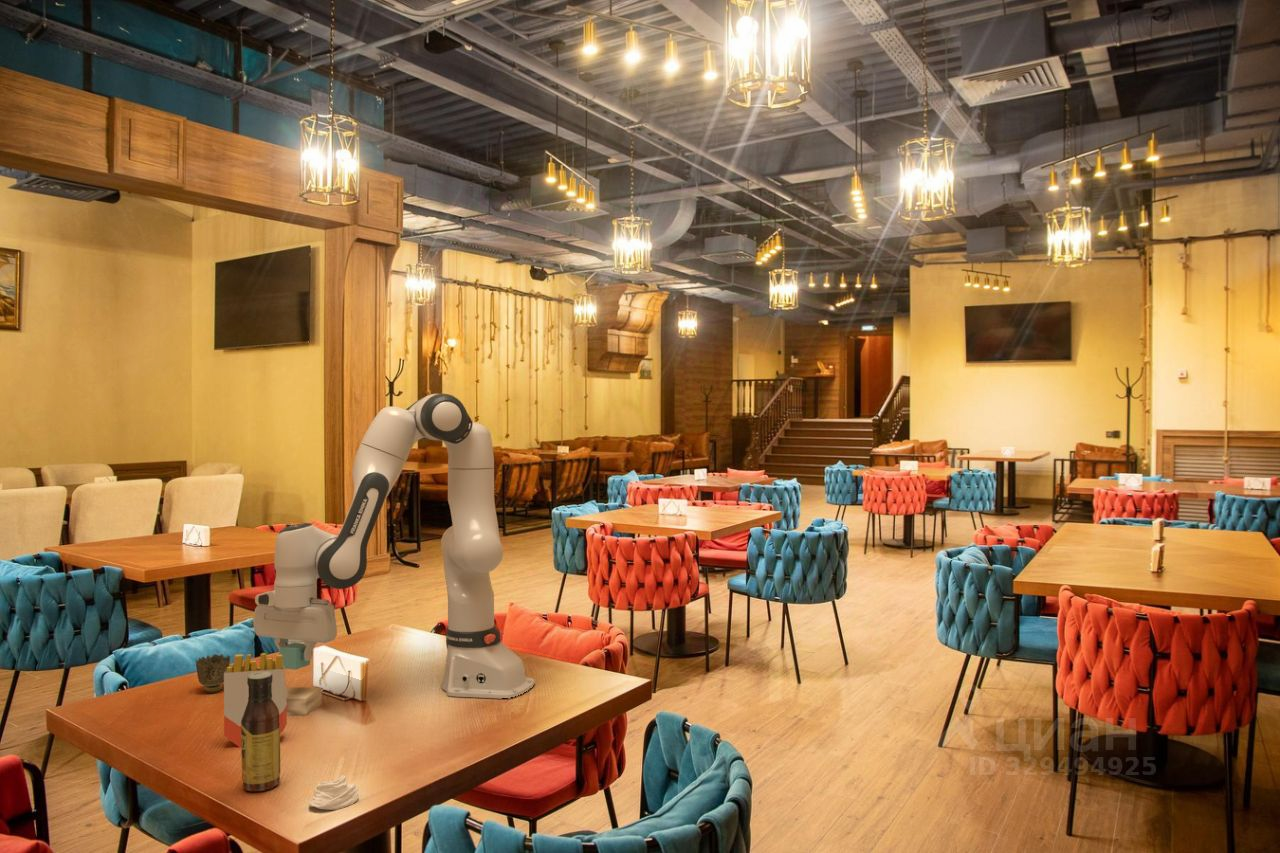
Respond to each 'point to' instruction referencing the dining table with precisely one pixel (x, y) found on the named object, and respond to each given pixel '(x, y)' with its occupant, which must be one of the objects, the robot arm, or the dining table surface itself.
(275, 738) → the sauce bottle
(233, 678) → the french fries container
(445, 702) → the dining table surface
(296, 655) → the teal block
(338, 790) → the whipped cream
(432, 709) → the dining table surface
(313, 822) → the dining table surface
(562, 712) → the dining table surface
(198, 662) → the cup
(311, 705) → the maple base block
